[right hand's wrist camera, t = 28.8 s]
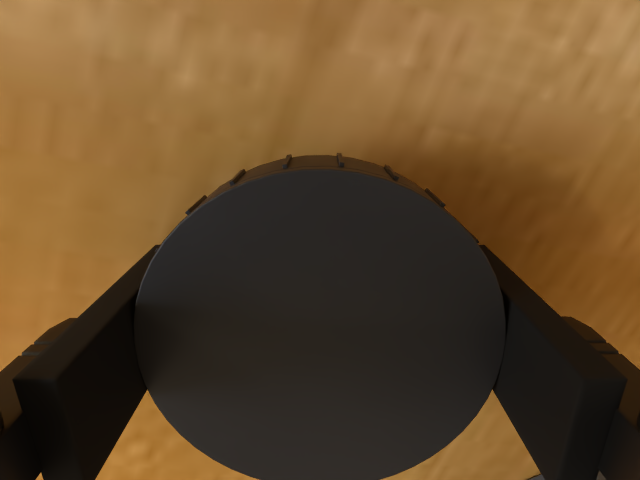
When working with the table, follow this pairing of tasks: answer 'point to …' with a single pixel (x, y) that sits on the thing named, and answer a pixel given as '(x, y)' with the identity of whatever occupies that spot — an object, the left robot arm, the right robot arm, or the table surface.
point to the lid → (319, 322)
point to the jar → (540, 479)
